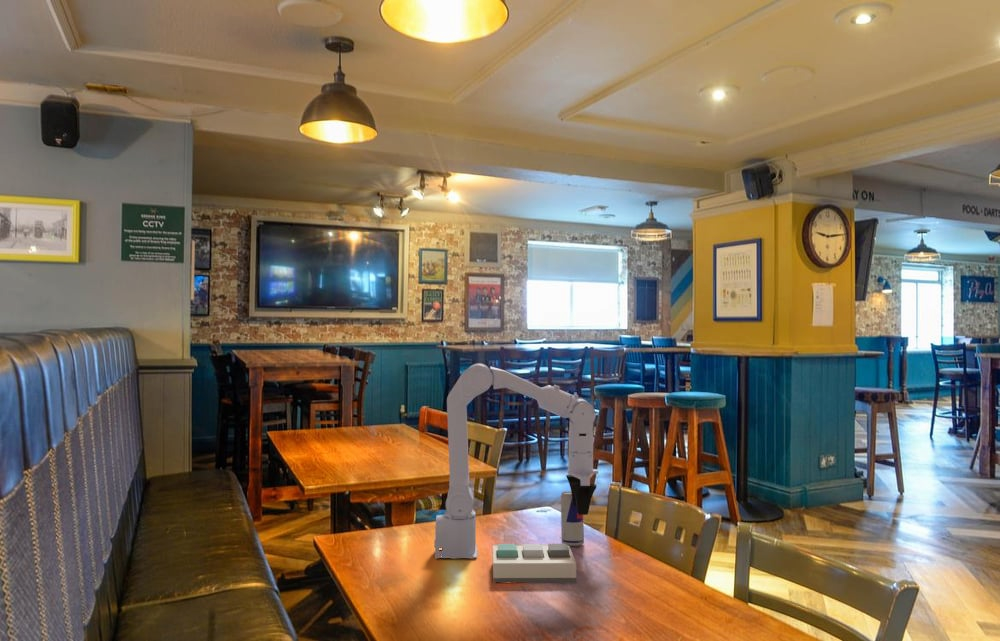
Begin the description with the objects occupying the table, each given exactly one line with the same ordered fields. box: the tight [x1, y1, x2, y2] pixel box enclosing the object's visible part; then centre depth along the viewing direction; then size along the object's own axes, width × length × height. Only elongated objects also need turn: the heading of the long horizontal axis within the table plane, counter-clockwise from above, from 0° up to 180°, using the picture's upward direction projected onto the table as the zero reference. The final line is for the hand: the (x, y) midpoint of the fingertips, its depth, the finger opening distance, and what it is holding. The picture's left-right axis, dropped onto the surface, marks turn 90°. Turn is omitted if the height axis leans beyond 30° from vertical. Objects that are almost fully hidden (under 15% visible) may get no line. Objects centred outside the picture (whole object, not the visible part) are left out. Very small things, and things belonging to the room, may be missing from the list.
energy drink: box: [560, 491, 585, 547], centre depth 158 cm, size 5×5×12 cm
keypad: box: [492, 544, 577, 584], centre depth 139 cm, size 17×11×4 cm, turn 91°
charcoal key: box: [547, 543, 569, 558], centre depth 139 cm, size 4×4×3 cm
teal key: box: [497, 543, 517, 558], centre depth 139 cm, size 4×4×3 cm
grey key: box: [522, 543, 543, 558], centre depth 139 cm, size 4×4×3 cm
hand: (580, 509), depth 151 cm, fingers open, 7 cm apart
